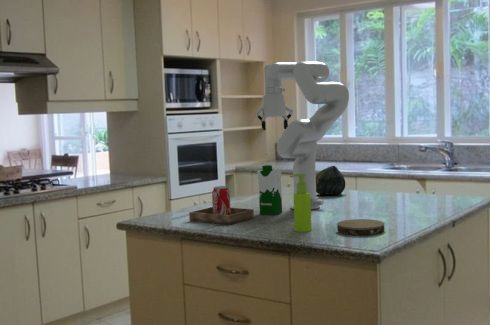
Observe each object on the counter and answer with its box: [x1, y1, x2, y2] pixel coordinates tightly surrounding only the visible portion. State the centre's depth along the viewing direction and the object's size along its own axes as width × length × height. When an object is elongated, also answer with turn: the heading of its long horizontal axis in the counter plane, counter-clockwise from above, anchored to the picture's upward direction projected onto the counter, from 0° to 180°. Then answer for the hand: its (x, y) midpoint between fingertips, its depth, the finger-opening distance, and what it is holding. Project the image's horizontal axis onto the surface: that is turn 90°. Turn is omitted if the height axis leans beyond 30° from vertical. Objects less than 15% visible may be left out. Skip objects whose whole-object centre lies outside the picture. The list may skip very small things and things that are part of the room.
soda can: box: [211, 185, 231, 215], centre depth 246 cm, size 7×7×12 cm
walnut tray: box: [188, 206, 255, 226], centre depth 247 cm, size 20×16×4 cm
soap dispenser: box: [289, 174, 312, 233], centre depth 218 cm, size 6×7×20 cm
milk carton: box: [256, 164, 283, 216], centre depth 256 cm, size 9×9×20 cm
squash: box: [315, 165, 346, 196], centre depth 300 cm, size 14×15×15 cm
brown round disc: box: [336, 218, 385, 237], centre depth 214 cm, size 16×16×3 cm
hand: (274, 129), depth 282 cm, fingers open, 9 cm apart
